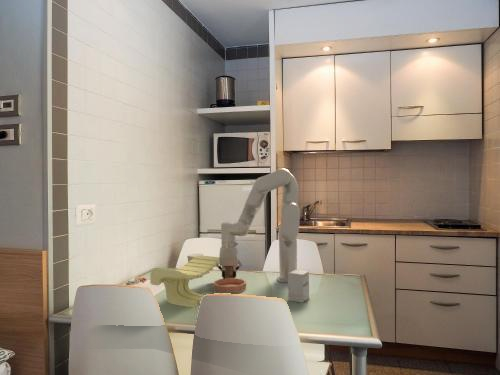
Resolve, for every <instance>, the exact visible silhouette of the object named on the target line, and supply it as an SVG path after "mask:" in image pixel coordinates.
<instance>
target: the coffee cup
mask: <svg viewBox="0 0 500 375" xmlns="http://www.w3.org/2000/svg"><path fill="white" fill-rule="evenodd" d="M197 255H201V256H204V254H202V253H191V254H188V255H187V262H188V261H190V260H191V259H192V258H193V257H195V256H197ZM201 277H203V276H200V277H199V278H201Z"/></svg>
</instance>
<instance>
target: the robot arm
mask: <svg viewBox="0 0 500 375" xmlns="http://www.w3.org/2000/svg"><path fill="white" fill-rule="evenodd" d="M279 188H282V196H281V197H282V200H281V207H280V213H281V214H280V215H281V216H280V218H281V219H280V225H279V227H278V250H279V252H278V257H279V259H278V260H279V261H278V263H279V264H278V265H279V266H278V267H279V275H278V276H277V277H276V280H277V281H278V282H280V283H285V284H286V283H287V284H288V273H290V272H292V271H294V270H298V242H297V241H298V240H297V238H298V237H299V233H300V232H299V231H300V220H301V219H300V217H301V209H300V207H299V185H298V182H297V179H296V177H295V176H294V175H293V174H292V173H291V172H290V170H288V169H286V168H278V169H276V170H275V171H272V172H270V173H268V174H265V175H263V176H260V177H258V178H257V179H255V181H254V183H253V185H252V187H251V190H250V192H249V193H248V196H247V199H246V200H245V203H244V206H243V208H242V212H241V214H240V216H239V218H238V220H237V222H234V221H224V222H222V223H221V225H220V226H221V227H220V229H221V230H220V231H221V232H220V235H221V236H220V237H221V239H220V240H221V247H220V248H219V254H218V255H219V256H218V257H220V263H219V264H216V268H218V270H219V271H220V272H221V278H222V279H225V274H224V267H225V266H233V269H234V272H233V278H237V271H238V270H239V269H240V268H241V267H243V263H242V262H241V261H240V260H239V252H238V247H237V246H239V243H238V242H236V237H245V236H247V235H248V233H249V232H250V228H251V226H252V223H253V221H254V220H255V218H256V215H257V214H258V212H259V211H260V209H261V208H262V205H263V203H264V201H265V199H266V197H267V194H268V193H269V192H271V191H274V190H276V189H279Z"/></svg>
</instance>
